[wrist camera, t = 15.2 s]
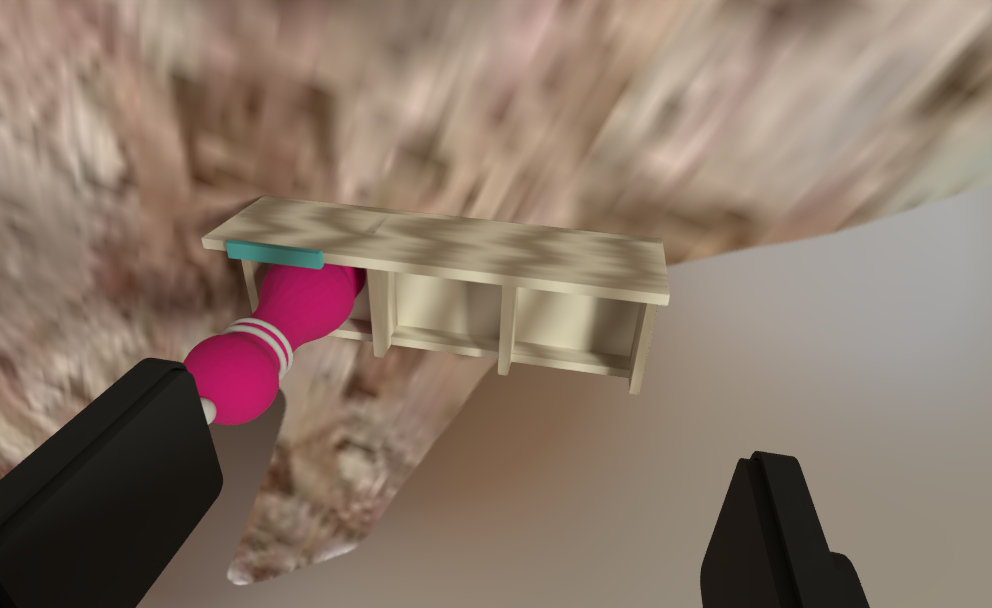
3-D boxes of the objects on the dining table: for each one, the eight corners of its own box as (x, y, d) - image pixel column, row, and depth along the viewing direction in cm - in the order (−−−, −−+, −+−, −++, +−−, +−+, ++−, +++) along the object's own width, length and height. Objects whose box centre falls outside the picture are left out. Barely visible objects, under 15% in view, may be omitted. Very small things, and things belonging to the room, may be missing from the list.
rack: (284, 311, 56) (228, 370, 48) (263, 193, 50) (195, 239, 42) (637, 359, 52) (640, 434, 44) (662, 236, 45) (671, 297, 37)
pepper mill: (348, 318, 54) (223, 484, 37) (280, 272, 53) (120, 421, 36) (386, 265, 50) (267, 422, 33) (314, 214, 49) (153, 350, 32)
